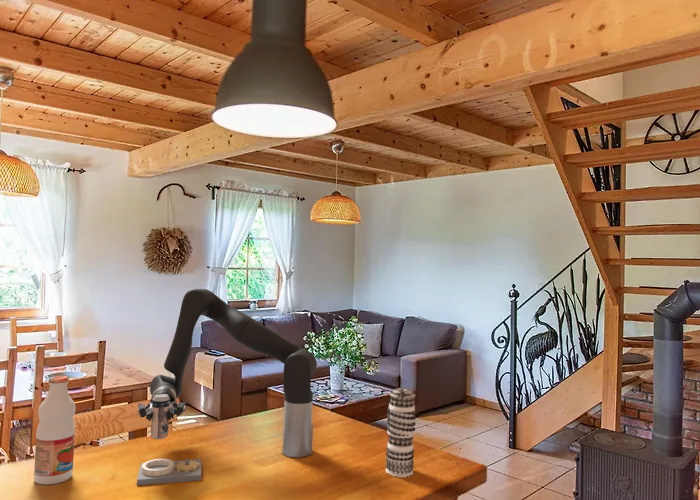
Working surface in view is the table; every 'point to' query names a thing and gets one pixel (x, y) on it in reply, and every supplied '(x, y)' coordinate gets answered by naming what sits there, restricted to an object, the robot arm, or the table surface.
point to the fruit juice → (55, 435)
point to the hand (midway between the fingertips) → (159, 416)
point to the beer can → (160, 416)
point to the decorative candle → (400, 432)
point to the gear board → (171, 475)
